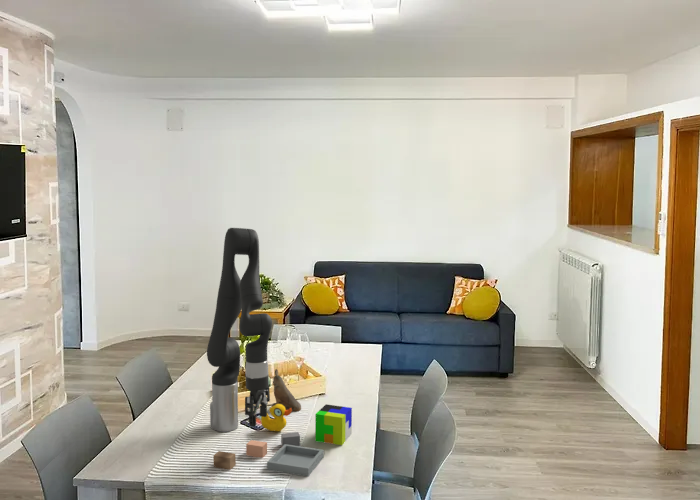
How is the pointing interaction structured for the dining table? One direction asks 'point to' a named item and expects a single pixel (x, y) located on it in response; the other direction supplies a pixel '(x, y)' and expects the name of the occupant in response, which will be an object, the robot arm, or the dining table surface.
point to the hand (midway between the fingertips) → (258, 421)
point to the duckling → (276, 418)
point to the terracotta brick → (256, 448)
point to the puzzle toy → (333, 424)
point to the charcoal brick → (290, 439)
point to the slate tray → (295, 460)
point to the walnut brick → (224, 460)
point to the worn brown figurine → (284, 395)
